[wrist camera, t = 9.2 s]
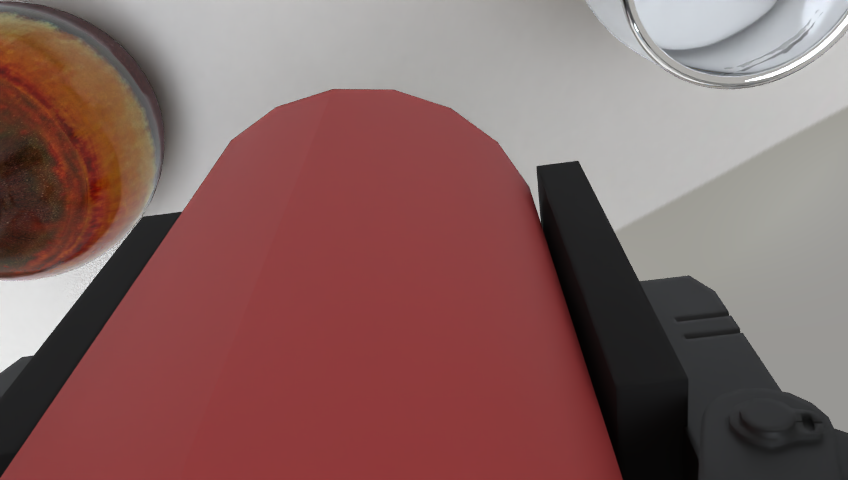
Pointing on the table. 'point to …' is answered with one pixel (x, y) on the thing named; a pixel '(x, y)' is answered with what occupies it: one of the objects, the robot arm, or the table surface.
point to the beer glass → (726, 36)
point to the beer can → (338, 319)
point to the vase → (70, 142)
